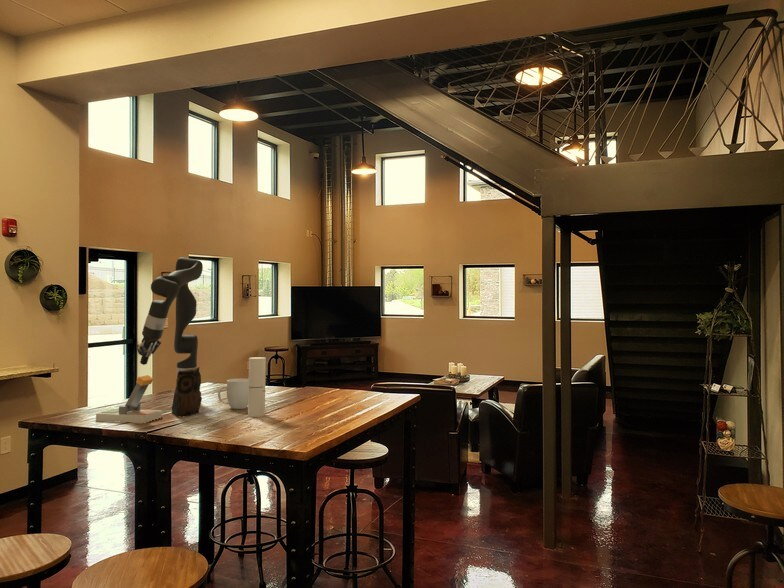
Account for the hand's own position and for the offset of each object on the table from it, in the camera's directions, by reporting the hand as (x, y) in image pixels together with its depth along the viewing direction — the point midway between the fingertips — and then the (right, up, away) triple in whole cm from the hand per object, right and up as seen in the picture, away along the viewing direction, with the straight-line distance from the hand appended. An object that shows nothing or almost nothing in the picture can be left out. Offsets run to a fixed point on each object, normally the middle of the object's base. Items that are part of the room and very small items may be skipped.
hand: (143, 363), depth 225 cm
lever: (-7, -20, +2) cm, 21 cm away
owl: (+11, -24, +15) cm, 31 cm away
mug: (+30, -25, +30) cm, 49 cm away
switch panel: (-6, -23, +1) cm, 24 cm away
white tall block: (+43, -24, +13) cm, 52 cm away
